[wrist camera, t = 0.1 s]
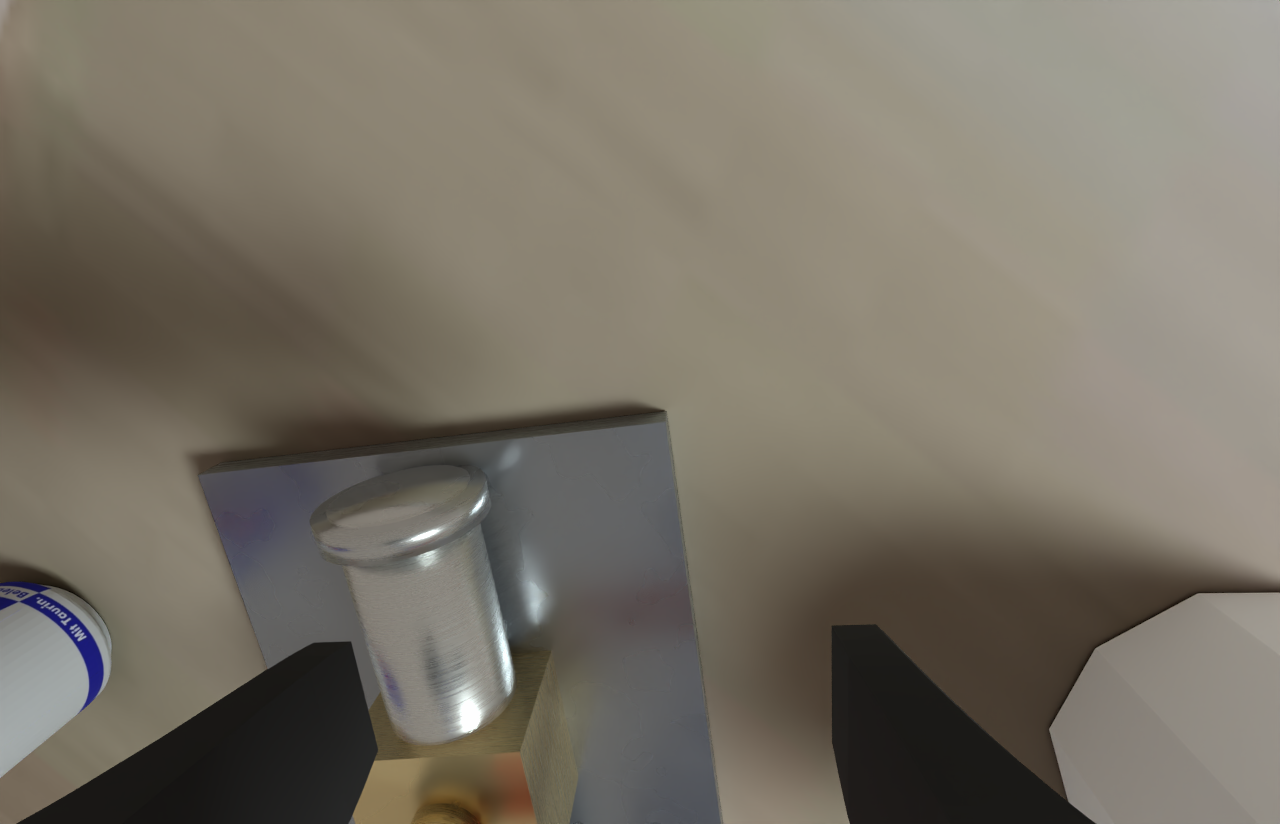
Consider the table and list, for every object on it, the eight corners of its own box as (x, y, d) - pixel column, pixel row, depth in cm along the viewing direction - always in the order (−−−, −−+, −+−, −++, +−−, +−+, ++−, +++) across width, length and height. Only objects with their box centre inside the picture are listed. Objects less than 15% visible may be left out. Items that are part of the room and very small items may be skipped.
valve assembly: (733, 897, 24) (746, 1110, 18) (376, 909, 26) (287, 1109, 20) (666, 411, 19) (656, 499, 13) (221, 462, 20) (38, 561, 15)
